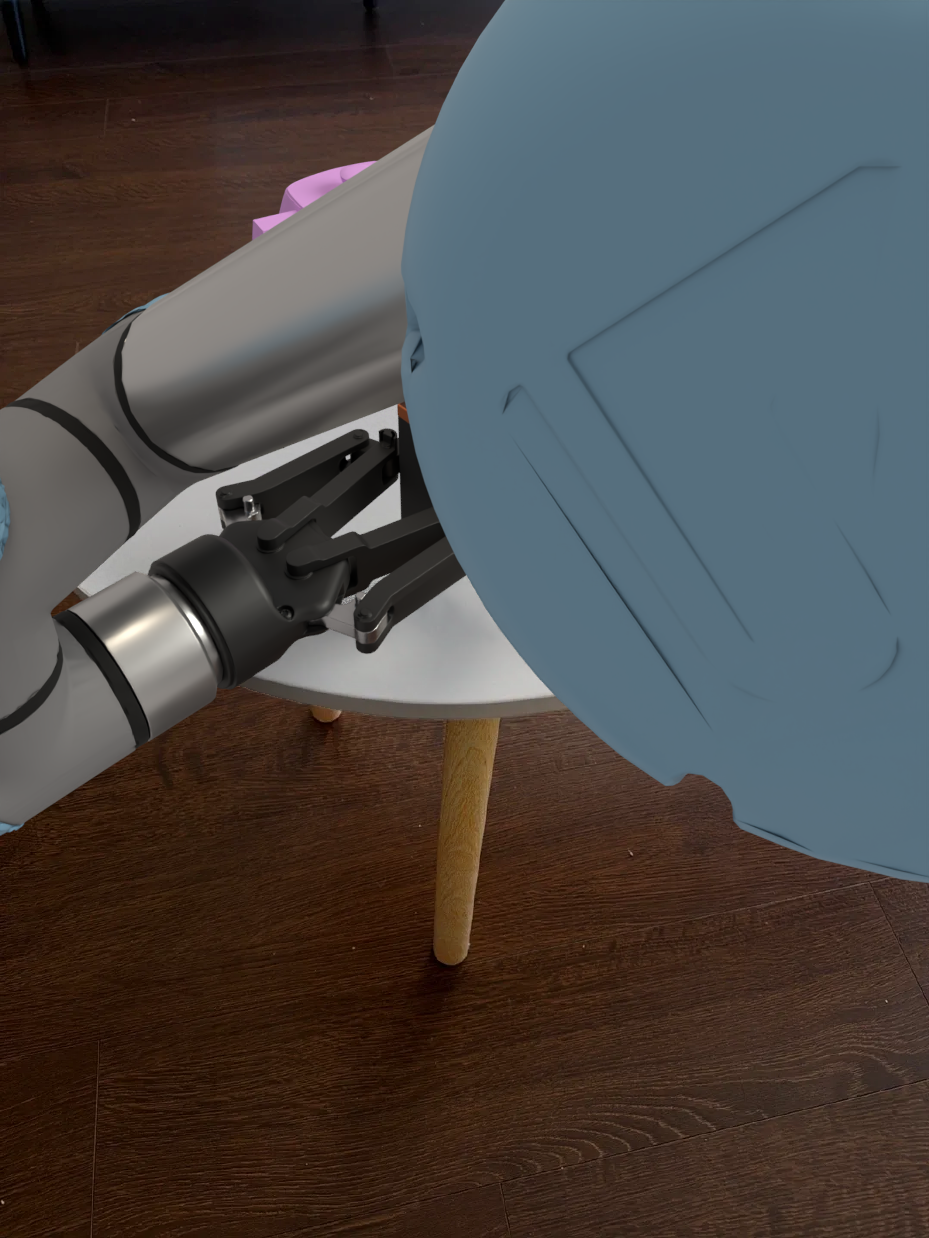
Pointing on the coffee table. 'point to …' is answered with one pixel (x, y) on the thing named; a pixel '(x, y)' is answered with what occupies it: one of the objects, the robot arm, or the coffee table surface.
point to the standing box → (410, 470)
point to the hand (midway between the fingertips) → (514, 437)
